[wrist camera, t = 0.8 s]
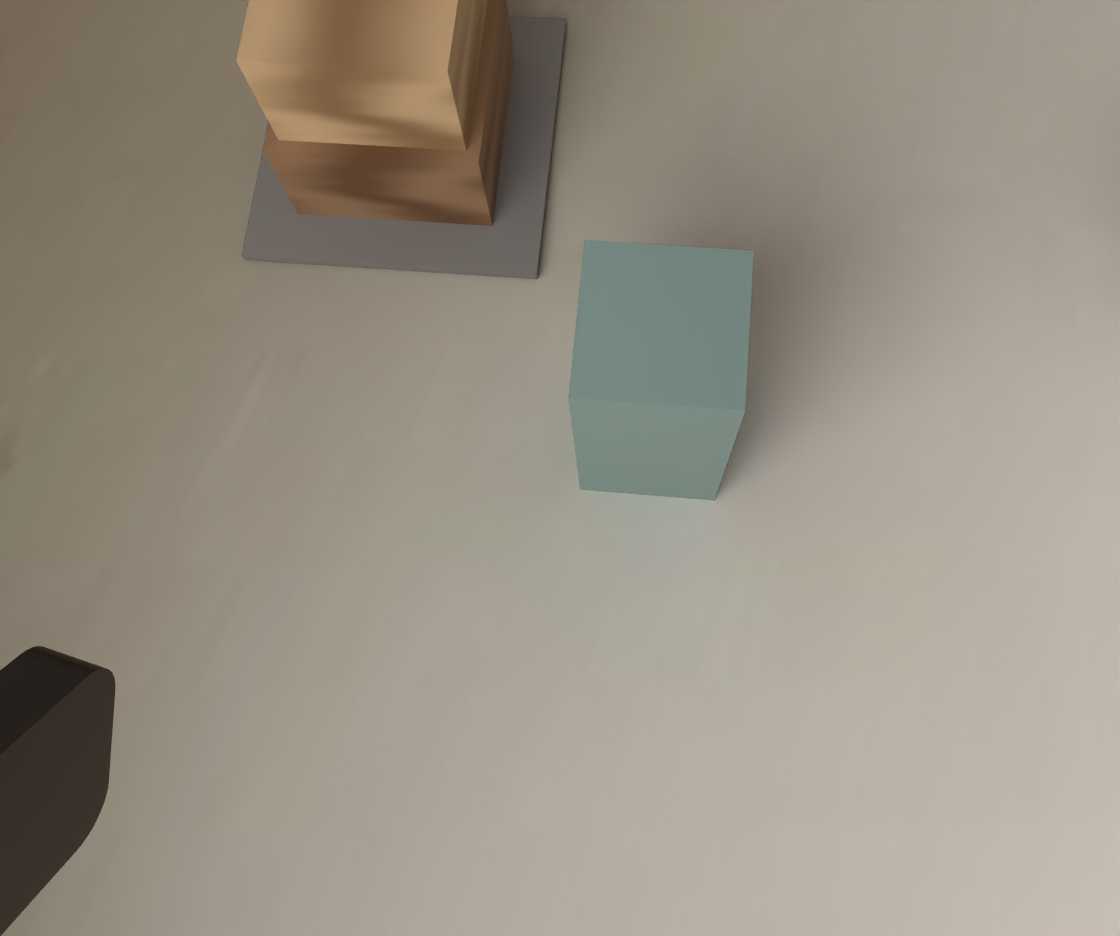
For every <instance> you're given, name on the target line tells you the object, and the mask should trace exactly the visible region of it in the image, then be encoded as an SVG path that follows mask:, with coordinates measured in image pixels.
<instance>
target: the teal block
mask: <svg viewBox="0 0 1120 936" xmlns="http://www.w3.org/2000/svg"><path fill="white" fill-rule="evenodd" d="M753 256H754V251H753V250H737V249H721V248H705V247H689V246H673V245H657V244H641V243H625V242H609V241H593V240H584V250H583V260H582V270H581V280H580V290H579V300H578V309H577V319H576V329H575V339H574V349H573V359H572V369H571V378H570V388H569V405H570V413H571V420H572V428H573V436H574V444H575V452H576V460H577V468H578V475H579V483H580V490H593V491H605V492H618V493H630V494H642V495H655V496H667V497H679V498H692V499H704V500H715V497H716V494H717V491H718V488H719V485H720V482H721V480H722V477H723V474H724V471H725V468H726V465H727V462H728V459H729V457H730V454H731V451H732V448H733V445H734V442H735V439H736V436H737V433H738V431H739V428H740V425H741V422H742V419H743V416H744V413H745V409H746V390H747V371H748V352H749V333H750V314H751V294H752V275H753Z"/></svg>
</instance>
